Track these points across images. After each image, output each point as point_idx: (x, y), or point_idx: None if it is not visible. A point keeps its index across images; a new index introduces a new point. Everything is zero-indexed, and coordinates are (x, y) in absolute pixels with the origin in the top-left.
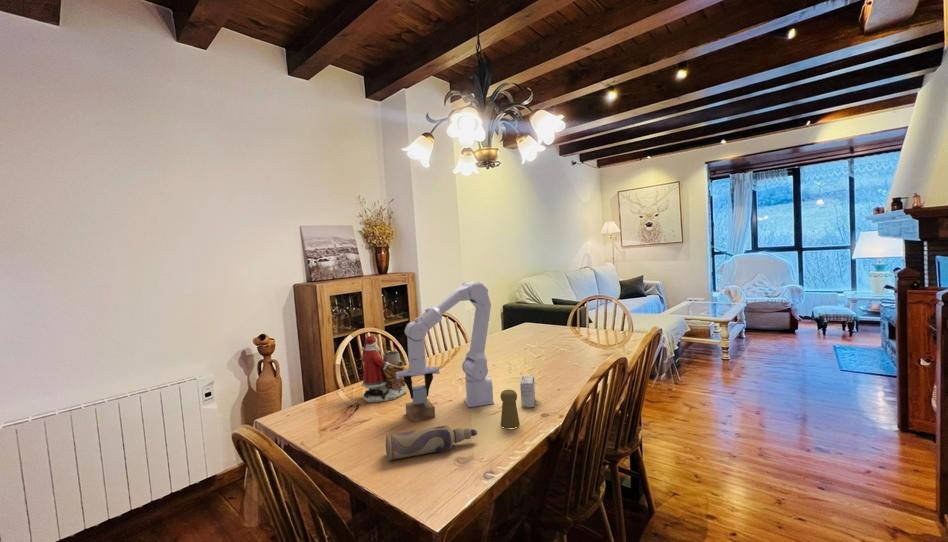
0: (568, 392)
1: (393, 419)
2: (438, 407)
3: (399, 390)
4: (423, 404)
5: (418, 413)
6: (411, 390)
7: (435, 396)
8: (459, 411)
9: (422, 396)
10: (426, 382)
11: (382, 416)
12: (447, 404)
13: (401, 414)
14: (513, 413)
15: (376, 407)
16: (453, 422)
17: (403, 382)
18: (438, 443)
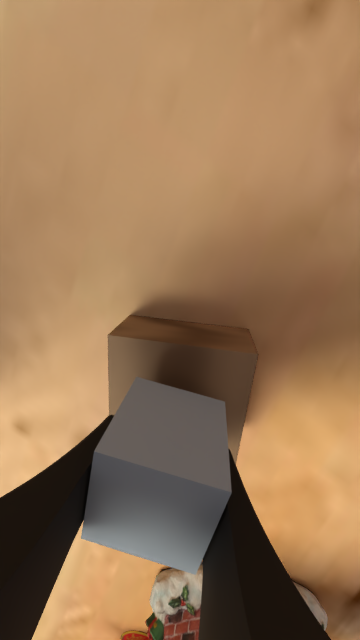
0: None
1: (304, 412)
2: (84, 399)
3: (182, 600)
4: None
5: (212, 339)
6: (237, 511)
7: None
8: (11, 306)
9: (154, 415)
10: (42, 530)
11: (329, 466)
12: (42, 402)
13: (250, 434)
14: None
15: (306, 546)
16: (67, 203)
17: (134, 637)
18: None
